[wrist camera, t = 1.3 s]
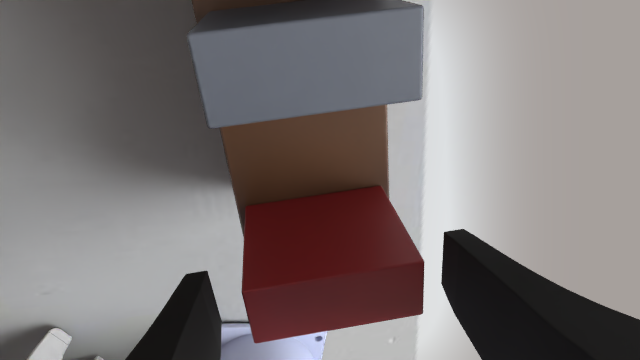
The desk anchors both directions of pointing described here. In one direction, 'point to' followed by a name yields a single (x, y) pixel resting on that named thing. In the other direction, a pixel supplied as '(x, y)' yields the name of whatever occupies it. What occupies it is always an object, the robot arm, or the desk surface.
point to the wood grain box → (302, 146)
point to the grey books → (306, 58)
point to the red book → (328, 264)
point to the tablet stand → (52, 346)
